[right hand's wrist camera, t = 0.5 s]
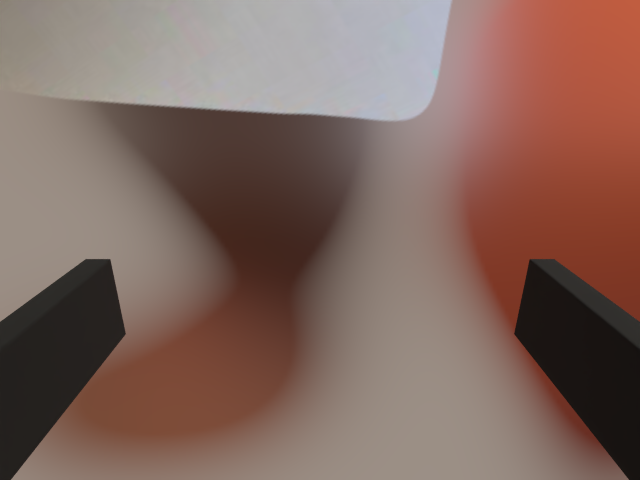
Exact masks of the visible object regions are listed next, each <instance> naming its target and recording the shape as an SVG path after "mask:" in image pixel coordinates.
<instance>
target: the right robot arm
mask: <svg viewBox="0 0 640 480" xmlns="http://www.w3.org/2000/svg"><path fill="white" fill-rule="evenodd" d="M125 334H126V333H125V328H124V323H123V319H122V314H121V309H120V304H119V300H118V294H117V290H116V285H115V280H114V275H113V270H112V265H111V261H110V259H86V260H84V261H83V262H81V263H80V264H79V265H77V266H76V267H75V268H73V269H72V270H70V271H69V272H68V273H66V274H65V275H64V276H62V277H61V278H59V279H58V280H57V281H55V282H54V283H53V284H51V285H50V286H49V287H47V288H46V289H45V290H43V291H42V292H40V293H39V294H38V295H36V296H35V297H34V298H32V299H31V300H29V301H28V302H27V303H25V304H24V305H23V306H21V307H20V308H19V309H17V310H16V311H14V312H13V313H12V314H10V315H9V316H8V317H6V318H5V319H4V320H2V321H1V322H0V480H11V479H12V478H13V476H14V475H15V474H16V473H17V471H18V470H19V469H20V467H21V466H22V465H23V464H24V462H25V461H26V460H27V459H28V457H29V456H30V455H31V454H32V452H33V451H34V450H35V448H36V447H37V446H38V445H39V443H40V442H41V441H42V440H43V438H44V437H45V436H46V434H47V433H48V432H49V431H50V429H51V428H52V427H53V426H54V424H55V423H56V422H57V420H58V419H59V418H60V417H61V415H62V414H63V413H64V412H65V410H66V409H67V408H68V407H69V405H70V404H71V403H72V402H73V400H74V399H75V398H76V396H77V395H78V394H79V393H80V391H81V390H82V389H83V388H84V386H85V385H86V384H87V382H88V381H89V380H90V379H91V377H92V376H93V375H94V374H95V372H96V371H97V370H98V368H99V367H100V366H101V365H102V363H103V362H104V361H105V360H106V358H107V357H108V356H109V355H110V353H111V352H112V351H113V349H114V348H115V347H116V346H117V344H118V343H119V342H120V341H121V339H122V338H123V337H124V336H125ZM514 334H515V336H516V337H517V338H518V339H519V341H520V342H521V343H522V344H523V346H524V347H525V348H526V350H527V351H528V352H529V353H530V355H531V356H532V357H533V358H534V360H535V361H536V362H537V363H538V365H539V366H540V367H541V369H542V370H543V371H544V372H545V374H546V375H547V376H548V377H549V379H550V380H551V381H552V382H553V384H554V385H555V386H556V388H557V389H558V390H559V391H560V393H561V394H562V395H563V396H564V398H565V399H566V400H567V402H568V403H569V404H570V405H571V407H572V408H573V409H574V410H575V412H576V413H577V414H578V415H579V417H580V418H581V419H582V421H583V422H584V423H585V424H586V426H587V427H588V428H589V429H590V431H591V432H592V433H593V434H594V436H595V437H596V438H597V440H598V441H599V442H600V443H601V445H602V446H603V447H604V448H605V450H606V451H607V452H608V454H609V455H610V456H611V457H612V459H613V460H614V461H615V462H616V464H617V465H618V466H619V467H620V469H621V470H622V471H623V472H624V474H625V475H626V476H627V478H628V479H629V480H640V322H639V321H638V320H636V319H635V318H634V317H632V316H631V315H630V314H628V313H627V312H625V311H624V310H623V309H621V308H620V307H619V306H617V305H616V304H615V303H613V302H612V301H611V300H609V299H608V298H606V297H605V296H604V295H602V294H601V293H600V292H598V291H597V290H595V289H594V288H593V287H591V286H590V285H589V284H587V283H586V282H585V281H583V280H582V279H580V278H579V277H578V276H576V275H575V274H574V273H572V272H571V271H570V270H568V269H567V268H565V267H564V266H563V265H561V264H560V263H559V262H557V261H556V260H555V259H530V261H529V265H528V270H527V275H526V280H525V285H524V290H523V294H522V299H521V304H520V309H519V314H518V319H517V323H516V328H515V333H514Z"/></svg>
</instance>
